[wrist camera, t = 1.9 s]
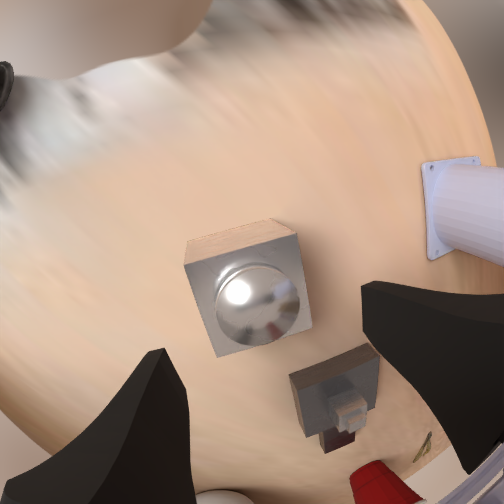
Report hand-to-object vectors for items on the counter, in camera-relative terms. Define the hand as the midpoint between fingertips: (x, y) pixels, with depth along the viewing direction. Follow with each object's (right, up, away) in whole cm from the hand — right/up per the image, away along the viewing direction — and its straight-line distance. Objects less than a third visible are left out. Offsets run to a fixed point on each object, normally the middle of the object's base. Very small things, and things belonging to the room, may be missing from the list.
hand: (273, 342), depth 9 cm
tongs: (+31, -34, +25) cm, 52 cm away
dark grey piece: (+7, -11, +13) cm, 19 cm away
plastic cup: (+17, -31, +20) cm, 41 cm away
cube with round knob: (-1, +2, +8) cm, 8 cm away
